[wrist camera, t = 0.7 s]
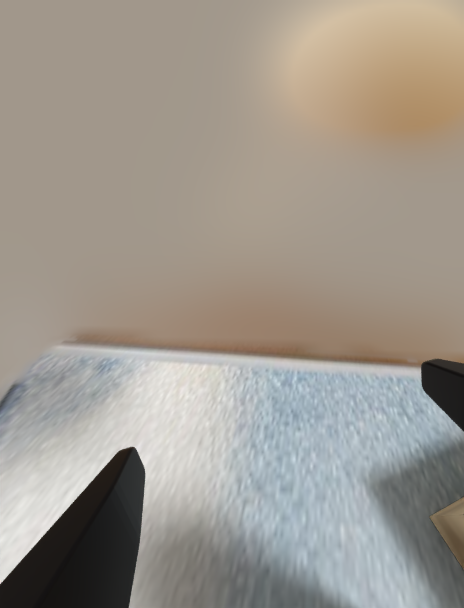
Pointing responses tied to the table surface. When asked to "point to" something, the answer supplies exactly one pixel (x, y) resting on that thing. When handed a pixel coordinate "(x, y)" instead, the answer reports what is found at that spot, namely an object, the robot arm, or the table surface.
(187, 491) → the table surface
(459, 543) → the socket board
